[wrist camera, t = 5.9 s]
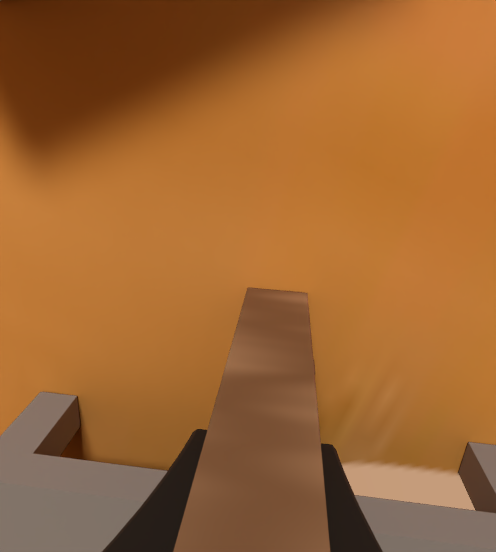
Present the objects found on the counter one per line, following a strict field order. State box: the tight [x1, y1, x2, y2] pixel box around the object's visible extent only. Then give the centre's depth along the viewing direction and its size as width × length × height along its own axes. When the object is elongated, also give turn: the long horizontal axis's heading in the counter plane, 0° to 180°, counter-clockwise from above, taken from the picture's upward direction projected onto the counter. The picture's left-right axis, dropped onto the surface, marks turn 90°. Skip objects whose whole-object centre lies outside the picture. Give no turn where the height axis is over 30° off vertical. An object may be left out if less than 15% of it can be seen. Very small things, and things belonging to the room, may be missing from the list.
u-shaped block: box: [0, 392, 496, 552], centre depth 15 cm, size 18×8×4 cm, turn 86°
